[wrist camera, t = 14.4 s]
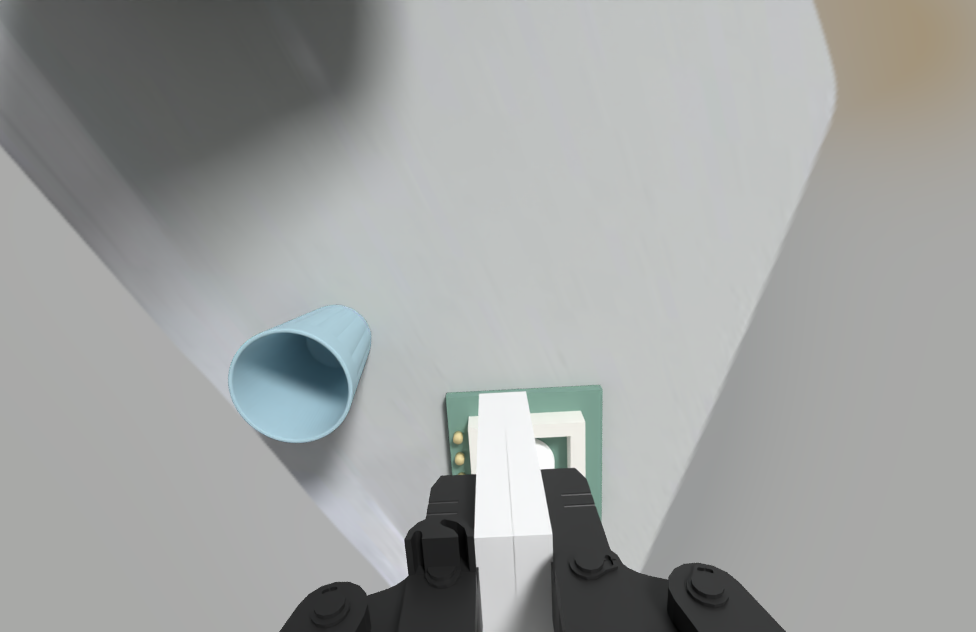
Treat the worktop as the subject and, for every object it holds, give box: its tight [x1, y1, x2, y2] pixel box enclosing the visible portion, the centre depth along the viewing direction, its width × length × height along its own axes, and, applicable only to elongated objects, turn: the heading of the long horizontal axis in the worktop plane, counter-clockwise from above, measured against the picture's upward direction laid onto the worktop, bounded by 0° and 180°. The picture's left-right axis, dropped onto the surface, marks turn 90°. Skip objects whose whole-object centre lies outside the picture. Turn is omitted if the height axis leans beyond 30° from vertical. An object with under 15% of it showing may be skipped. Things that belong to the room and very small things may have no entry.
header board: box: [446, 385, 602, 520], centre depth 42 cm, size 13×13×3 cm
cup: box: [228, 305, 371, 443], centre depth 36 cm, size 8×8×10 cm
